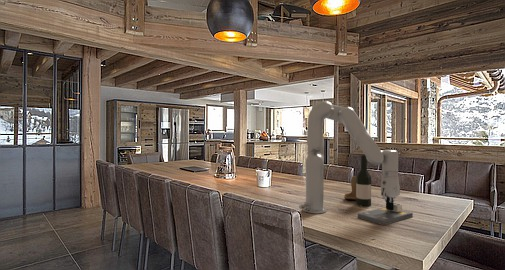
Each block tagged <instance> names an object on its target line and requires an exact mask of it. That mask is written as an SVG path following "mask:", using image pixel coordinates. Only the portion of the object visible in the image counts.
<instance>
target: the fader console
mask: <svg viewBox="0 0 505 270" xmlns="http://www.w3.org/2000/svg"><path fill="white" fill-rule="evenodd" d="M357 218H358V219H362V220H364V221H368V222H371V223H375V224H378V225H381V226H382V225H383V226H384V225H388V224H392V223H395V222H398V221H404V220H405V219H410V218H413V212H410V211H406V210H403V209H402V211H400V212H395V211H391V210H387V209H386V206H385V207H381V208H377V209H372V210H367V211H363V212H359V213H357Z"/></svg>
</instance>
